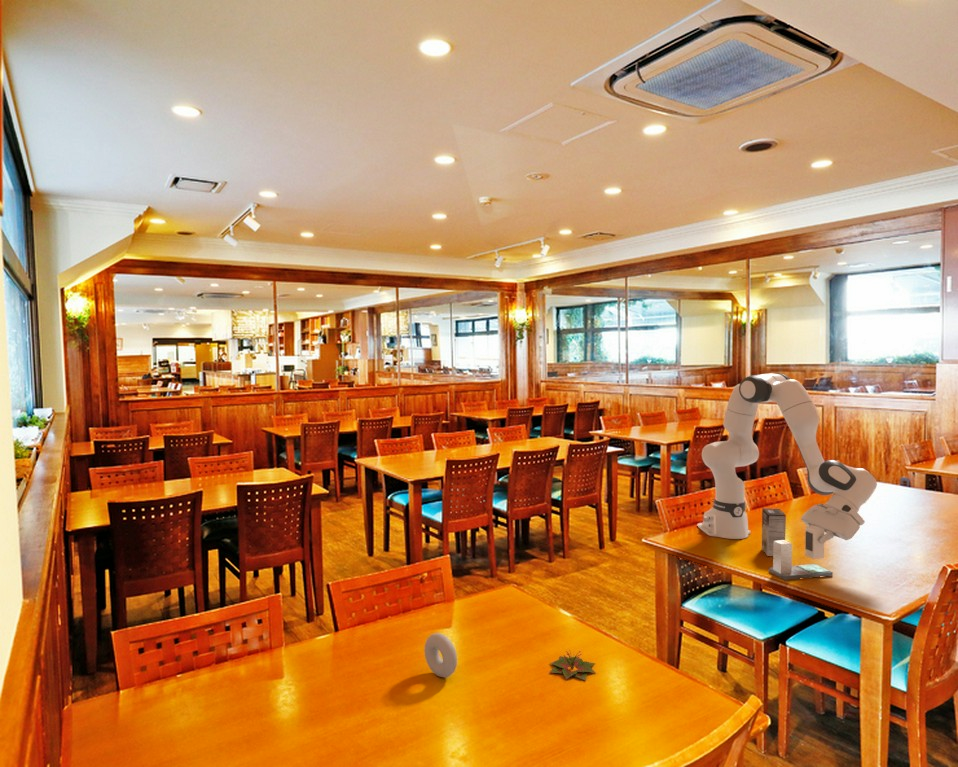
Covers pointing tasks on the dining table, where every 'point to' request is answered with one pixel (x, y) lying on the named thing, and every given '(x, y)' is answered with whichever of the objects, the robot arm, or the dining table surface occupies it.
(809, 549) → the white box
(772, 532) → the coffee box
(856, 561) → the dining table surface
